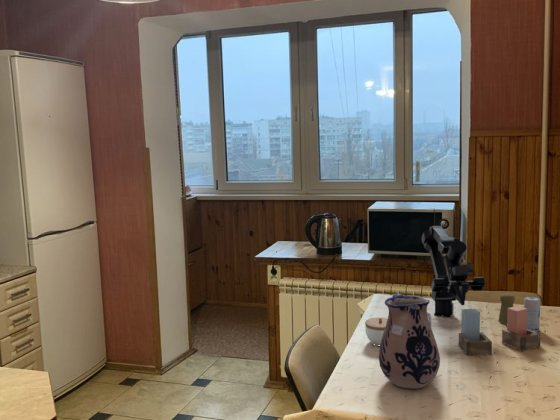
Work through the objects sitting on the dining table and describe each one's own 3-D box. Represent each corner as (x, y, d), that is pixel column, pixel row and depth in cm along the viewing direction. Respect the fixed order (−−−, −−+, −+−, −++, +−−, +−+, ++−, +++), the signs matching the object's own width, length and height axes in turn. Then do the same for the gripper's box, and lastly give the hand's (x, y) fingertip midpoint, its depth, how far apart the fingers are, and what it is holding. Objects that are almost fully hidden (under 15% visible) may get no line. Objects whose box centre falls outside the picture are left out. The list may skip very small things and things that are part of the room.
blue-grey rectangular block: (461, 342, 193) (461, 309, 191) (475, 341, 192) (476, 308, 191) (464, 346, 189) (465, 312, 187) (479, 346, 188) (480, 312, 187)
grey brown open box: (458, 345, 191) (458, 332, 190) (482, 344, 190) (482, 332, 190) (466, 355, 182) (466, 342, 181) (491, 354, 182) (491, 341, 181)
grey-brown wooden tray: (501, 342, 192) (502, 329, 191) (518, 338, 196) (518, 325, 195) (523, 350, 184) (523, 337, 183) (540, 346, 187) (540, 333, 187)
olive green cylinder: (517, 324, 210) (518, 296, 208) (501, 324, 210) (502, 296, 208) (511, 319, 216) (512, 291, 214) (496, 319, 216) (496, 292, 214)
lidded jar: (359, 343, 196) (358, 317, 195) (378, 335, 203) (378, 311, 201) (382, 351, 188) (382, 324, 187) (402, 343, 195) (402, 317, 193)
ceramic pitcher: (396, 400, 153) (396, 313, 149) (364, 370, 173) (363, 293, 169) (451, 390, 157) (452, 306, 154) (414, 362, 177) (413, 287, 174)
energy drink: (539, 328, 205) (540, 297, 203) (539, 332, 200) (540, 301, 198) (523, 326, 207) (524, 295, 205) (523, 331, 202) (524, 299, 200)
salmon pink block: (506, 341, 192) (507, 308, 190) (516, 338, 194) (517, 305, 193) (516, 344, 188) (516, 311, 187) (526, 342, 191) (527, 308, 189)
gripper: (433, 256, 201) (441, 294, 191) (484, 255, 200) (495, 293, 191) (427, 272, 210) (435, 309, 200) (477, 271, 209) (486, 308, 200)
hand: (463, 304), depth 197 cm, fingers closed
